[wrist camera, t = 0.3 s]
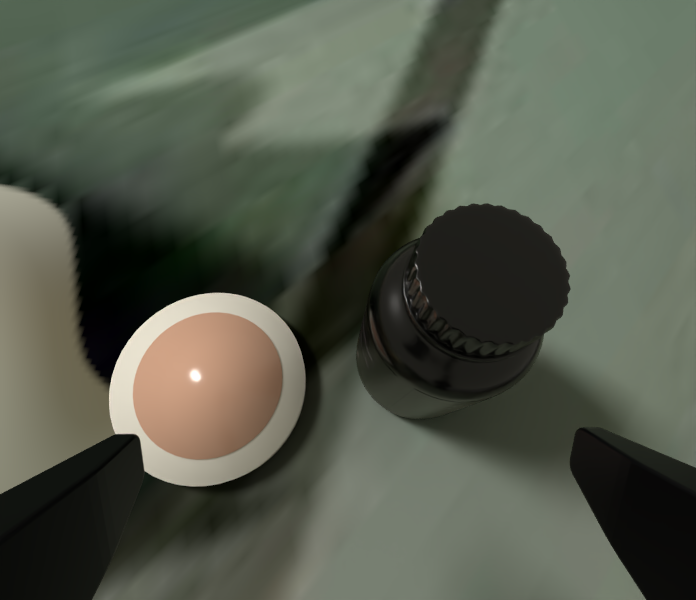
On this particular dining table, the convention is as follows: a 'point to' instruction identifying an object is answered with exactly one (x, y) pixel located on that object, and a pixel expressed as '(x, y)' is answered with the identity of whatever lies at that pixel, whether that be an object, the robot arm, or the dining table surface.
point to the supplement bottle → (460, 311)
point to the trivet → (208, 388)
